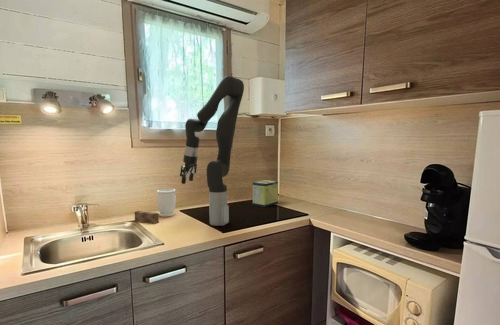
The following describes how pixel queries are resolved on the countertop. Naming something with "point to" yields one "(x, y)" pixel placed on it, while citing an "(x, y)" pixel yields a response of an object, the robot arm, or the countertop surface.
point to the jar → (166, 202)
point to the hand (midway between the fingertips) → (187, 182)
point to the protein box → (265, 193)
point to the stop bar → (146, 217)
